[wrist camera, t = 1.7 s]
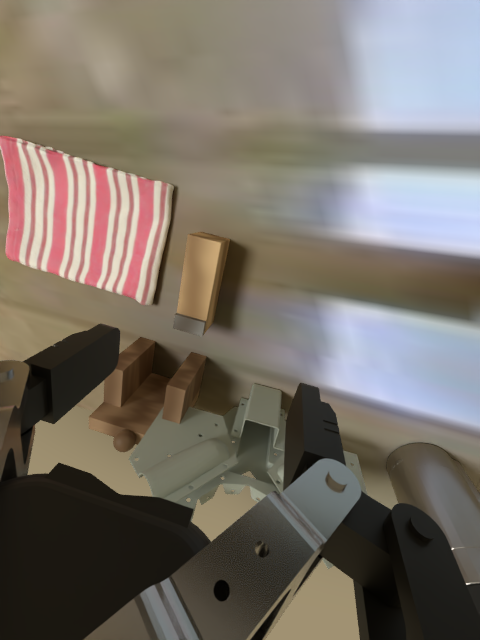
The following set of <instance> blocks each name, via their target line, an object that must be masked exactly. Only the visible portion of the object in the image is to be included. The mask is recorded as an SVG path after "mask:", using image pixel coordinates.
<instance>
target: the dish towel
mask: <svg viewBox="0 0 480 640" xmlns="http://www.w3.org/2000/svg"><path fill="white" fill-rule="evenodd" d="M0 149H1V152H2V156H3V159H4V166H5V173H6V179H7V182H8V186H9V199H8V207H9V228H8V232H7V239H6V255H7V257H8V258H9V259H10V260H13V261H17V262H20V263H22V264H23V265H26V266H30V267H31V268H35V269H39V270H42V271H45V272H50V273H54V274H57V275H59V276H61V277H63V278H67V279H69V280H72V281H75V282H80V283H83V284H88V285H91V286H95V287H97V288H100V289H104V290H107V291H110V292H113V293H117V294H121V295H125V296H128V297H130V298H133V299H135V300H137V301H138V302H139V303H140V304H142V305H152V304H153V299H154V294H155V291H156V285H157V279H158V274H159V268H160V264H161V259H162V254H163V251H164V246H165V243H166V238H167V233H168V229H169V225H170V220H171V206H172V194H173V190H174V186H173V185H171V184H169V183H164V182H161V181H152V180H149V179H146V178H144V177H140V176H137V175H134V174H131V173H125V172H123V171H120V170H115V169H113V168H110V167H108V168H107V167H103V166H100V165H97V164H94V163H93V162H90V161H86V160H83V159H82V158H78V157H72V156H71V155H68V154H64V152H62V151H59V150H58V151H55V150H54V149H53V148H51V147H43V146H42V145H39V144H34V143H31V142H29V141H24V140H22V139H18V138H13V137H8V136H0Z"/></svg>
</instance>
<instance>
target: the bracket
mask: <svg viewBox="0 0 480 640" xmlns="http://www.w3.org/2000/svg"><path fill="white" fill-rule="evenodd" d="M281 394H282V392H281V391H280V390H277V389H273V388H270V387H266V386H262V385H258V384H253V385H252V389H251V393H250V397H249V399H244V398H241V400H240V404H239V407H233V408H232V409H231V410H230V411H228V412H227V413H226V414H225V415H224V416H221V415H217V414H213V413H210V412H206V411H203V410H199V409H196V408H192V407H189V408H188V410H187V411H186V413H185V415H184V417H183V419H182V420H181V422H180V424H178V423H175V422H171V421H168V420H165V419H162V415H163V408H164V407H163V408H162V410H161V411H160V413H159V414H158V416H157V417H156V419H155V420H154V422H153V423H152V425H151V426H150V428H149V429H148V431H147V432H146V434H145V435H144V436H143V438H142V439H141V441H140V442H139V444H138V445H137V447H136V448H135V450H134V452H133V453H132V454H131V456H130V457H129V460H130V462H131V464H132V466H133V468H134V470H135V471H136V473H137V475H138V477H139V478H140V477H142V476H145V478H146V479H147V481H148V483H149V486H150V488H151V492H152V496H153V497H160V498H163V499H166V500H169V501H172V502H175V503H178V504H181V505H184V506H186V507H189V508H192V509H194V511H195V507H196V503H197V500H198V499H199V500H200V503H201V505H202V504H204V503H205V502H207V501H208V500H210V499H211V498H212V497H213V496H214V494H215V492H216V490H217V488H218V486H219V485H220V484H223V486H224V490H225V493H226V494H239V493H240V492H241V491H242V490H243V488H244V487H245V486H246V485H248V486H250V490H251V497H252V499H253V500H255V501H257V502H259V501H261V500H262V499H263V498H264V497H265V496H267V495H268V494H269V493H271V492H273V491H276V492H277V493H278V494H280V493H282V492H283V477H284V453H285V428H286V421H285V420H284V418H285V410H284V409H281ZM241 404H244V405H241ZM280 414H282V415H283V416H280ZM199 434H200V435H199ZM198 435H199V436H198ZM231 441H235V443H232V442H231ZM343 452H344V457H345V462H346V467H348V468H349V469H350V470H351V471H352V472H353V473H354V475H355V476H356V477H357V479H358V481H359V483H360V486H361V490H362V491H363V492H364V493H365V494H366V495H367V491H366V487H365V484H364V480H363V476H362V472H361V468H360V465H359V461H358V457H357V454H354V453H350V452H347V451H343ZM274 453H277V456H275V455H274ZM168 454H170V455H171V457H167V455H168ZM135 458H139V460H138V461H134V459H135ZM350 463H352V464H354V466H352V465H351V464H350ZM247 471H251V473H252V474H253V475H254V477H255V478H256V479H254V478H250V477H247V476H244V475H241V474H243V473H246V472H247ZM222 476H223V477H224V478H225V479H224V480H221V478H220V477H222ZM231 490H235V491H234V492H231ZM207 497H209V498H208V499H207ZM257 497H258V498H260V500H258V499H257ZM187 498H190V499H191V501H190V502H187V501H186V499H187ZM194 511H193V515H194ZM193 515H192V518H193ZM191 521H192V519H191ZM322 560H323V561H324V563H325V565H326V566H327V568H328V569H329V568H331V567H332V566H334V565H333V564H332V563H330V562H328V561H326V559H325V558H323V559H322Z"/></svg>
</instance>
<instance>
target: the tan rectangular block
mask: <svg viewBox="0 0 480 640" xmlns="http://www.w3.org/2000/svg"><path fill="white" fill-rule="evenodd" d="M229 242H230V239H227V238H223V237H219V236H215V235H211V234H207V233H204V232H198V233H193V234H188V239H187V246H186V253H185V260H184V267H183V274H182V280H181V287H180V294H179V301H178V308H177V313H176V314H175V318H174V325H173V328H174V329H177V330H181V331H184V332H188V333H191V334H195V335H198V336H201V337H202V336H203V335H204V334H205V332H206V331H207V330H208V328H209V327H210V326H211V324H212V323H213V322H214V317H215V312H216V307H217V302H218V297H219V292H220V287H221V282H222V277H223V272H224V267H225V262H226V257H227V252H228V247H229Z"/></svg>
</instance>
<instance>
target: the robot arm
mask: <svg viewBox="0 0 480 640" xmlns="http://www.w3.org/2000/svg"><path fill="white" fill-rule="evenodd" d="M119 345H120V330H119V329H118V328H115V327H112V326H108V325H105V324H98V325H97V326H95V327H93V328H91V329H90V330H88V331H83V332H79V333H75V334H72V335H70V336H68V337H67V338H65V339H63V340H62V341H59V342H57V343H56V344H54V345H53V346H50V347H48V348H47V349H45V350H43V351H41V352H39V353H37V354H36V355H34V356H32V357H30V358H28V359H27V360H25V361H23V362H21V361H16V360H4V361H0V640H265V639H266V638H267V636H268V635H269V633H270V632H271V630H272V629H273V628H274V626H275V625H276V623H277V622H278V620H279V619H280V617H281V616H282V614H283V613H284V611H285V610H286V608H287V607H288V605H289V604H290V603H291V601H292V600H293V598H294V597H295V596H296V594H297V593H298V592H299V590H300V589H301V588H302V586H303V585H304V583H305V582H306V581H307V580H308V578H309V577H310V575H311V574H312V573H313V571H314V570H315V569H316V567H317V566H318V565H319V563H320V562H321V561H322V559H323V558H325V559H326V560H327V561H329V562H330V563H332V564H333V565H334V566H336V567H337V568H338V569H340V570H341V571H342V572H344V573H345V574H346V575H348V576H349V577H350V578H352V579H353V582H354V590H355V599H356V608H357V617H358V626H359V635H360V640H480V493H479V492H478V490H477V489H476V487H475V486H474V484H473V483H472V481H471V480H470V478H469V477H468V475H467V474H466V472H465V471H464V469H463V467H462V466H461V464H460V463H459V462H458V461H456V460H453V459H452V458H451V457H450V456H449V455H448V453H447V452H445V451H444V450H443V449H441V448H439V447H437V446H434V445H431V444H426V443H414V444H408V445H405V446H402V447H400V448H398V449H396V450H395V451H394V452H393V453H392V454H391V455H390V456H389V458H388V460H387V464H386V468H387V472H388V475H389V478H390V480H391V483H392V486H393V489H394V492H395V495H396V498H397V500H398V503H399V504H396V505H395V506H394V507H393V509H392V510H390V509H389V508H387V507H385V506H384V505H382V504H381V503H379V502H377V501H376V500H374V499H372V498H371V497H369V496H368V495H366V494H365V493H364V492H363V491H362V490H361V486H360V483H359V481H358V479H357V477H356V476H355V475H354V473H353V472H352V471H351V470H350V469H349V468H348V467H346V462H345V457H344V452H343V448H342V443H341V438H340V435H339V428H338V426H337V425H338V423H337V418H336V414H335V412H334V411H333V409H332V408H331V406H330V405H329V404H328V403H324V402H321V401H320V393H319V388H317V387H314V386H310V385H307V384H304V383H300V384H299V386H298V388H297V391H296V393H295V396H294V399H293V402H292V404H291V407H290V410H289V412H288V416H287V420H286V428H285V453H284V477H283V492H282V493H280V494H278V493H277V492H276V491H273V492H271V493H269V494H268V495H267V496H265V497H264V498H263V499H262V500H261V501H259V502H258V503H257V504H256V505H255V506H253V507H252V508H251V509H250V510H249V511H248V512H246V513H245V514H244V515H243V516H242V517H240V519H238V520H237V521H236V522H234V523H233V524H232V525H231V526H230V527H228V528H227V529H226V530H225V531H224V532H222V533H221V534H220V535H219V536H218V537H217V538H216V539H214V540H213V541H212V542H211V541H210V540H209V539H208V537H207V536H206V535H205V534H204V533H203V532H202V531H201V530H200V529H199V528H198V527H197V526H196V525H194V524H193V523H192V522H191V519H192V515H193V511H194V509H192V508H189V507H186V506H184V505H181V504H178V503H175V502H172V501H169V500H166V499H163V498H160V497H148V496H132V495H121V494H118V493H116V492H115V491H114V490H112V489H111V488H110V487H108V486H107V485H106V484H104V483H103V482H102V481H100V480H99V479H97V478H96V477H95V476H93V475H92V474H90V473H88V472H85V471H82V470H79V469H76V468H73V467H70V466H67V465H64V464H61V463H58V464H57V465H56V466H55V467H54V468H53V469H52V471H51V472H50V473H49V474H33V475H27V474H28V468H29V462H30V456H31V451H32V446H33V440H34V435H35V424H36V423H37V422H39V421H40V420H43V421H46V422H49V423H52V424H55V423H56V422H57V421H58V420H59V419H60V418H61V417H63V416H64V415H65V414H66V413H67V412H68V411H69V410H71V409H72V408H73V407H74V406H75V405H76V404H77V403H78V402H80V401H81V400H82V399H83V398H84V397H85V396H86V395H88V394H89V393H90V392H91V391H92V390H93V389H94V388H95V387H97V386H98V385H99V384H100V383H101V382H102V381H103V380H105V379H106V378H107V377H108V376H109V375H110V374H111V373H112V372H113V371H114V370H115V368H116V366H117V364H118V360H119Z"/></svg>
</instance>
